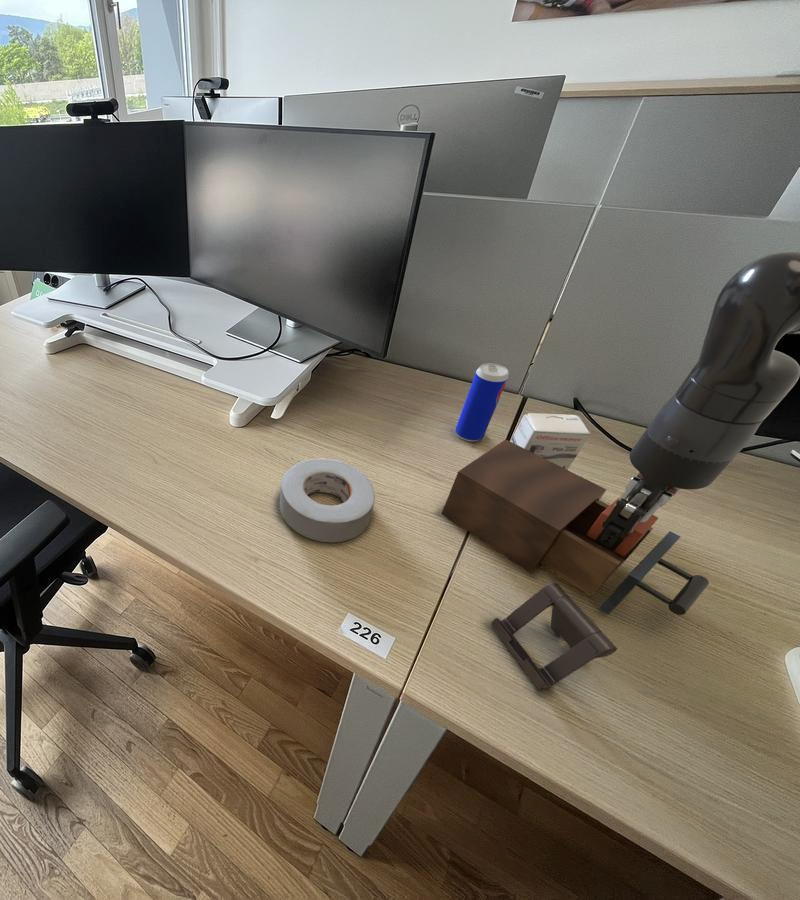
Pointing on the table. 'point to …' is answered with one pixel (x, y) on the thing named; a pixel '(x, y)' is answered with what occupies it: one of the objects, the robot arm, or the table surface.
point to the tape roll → (321, 518)
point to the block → (628, 541)
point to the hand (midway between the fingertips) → (614, 536)
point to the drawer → (614, 564)
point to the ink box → (552, 436)
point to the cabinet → (518, 502)
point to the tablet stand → (564, 623)
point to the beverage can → (481, 401)
